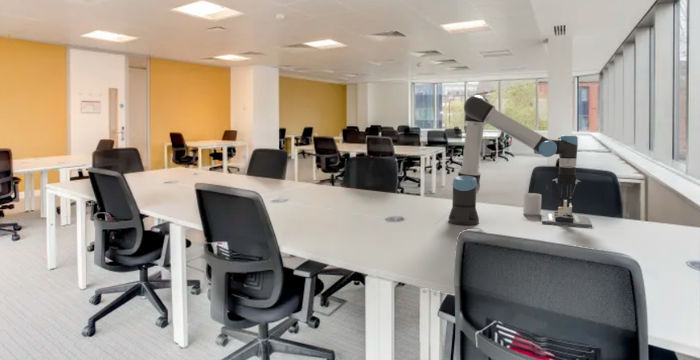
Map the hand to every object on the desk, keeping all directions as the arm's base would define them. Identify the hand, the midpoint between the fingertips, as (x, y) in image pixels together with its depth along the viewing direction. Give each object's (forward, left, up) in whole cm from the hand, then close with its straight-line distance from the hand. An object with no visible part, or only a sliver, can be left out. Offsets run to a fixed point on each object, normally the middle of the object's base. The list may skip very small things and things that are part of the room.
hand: (564, 213), depth 208 cm
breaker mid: (+3, +6, -2) cm, 7 cm away
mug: (-15, +19, -6) cm, 25 cm away
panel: (+1, +5, -5) cm, 7 cm away
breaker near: (-2, 0, -2) cm, 2 cm away
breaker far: (+3, +12, -2) cm, 12 cm away
